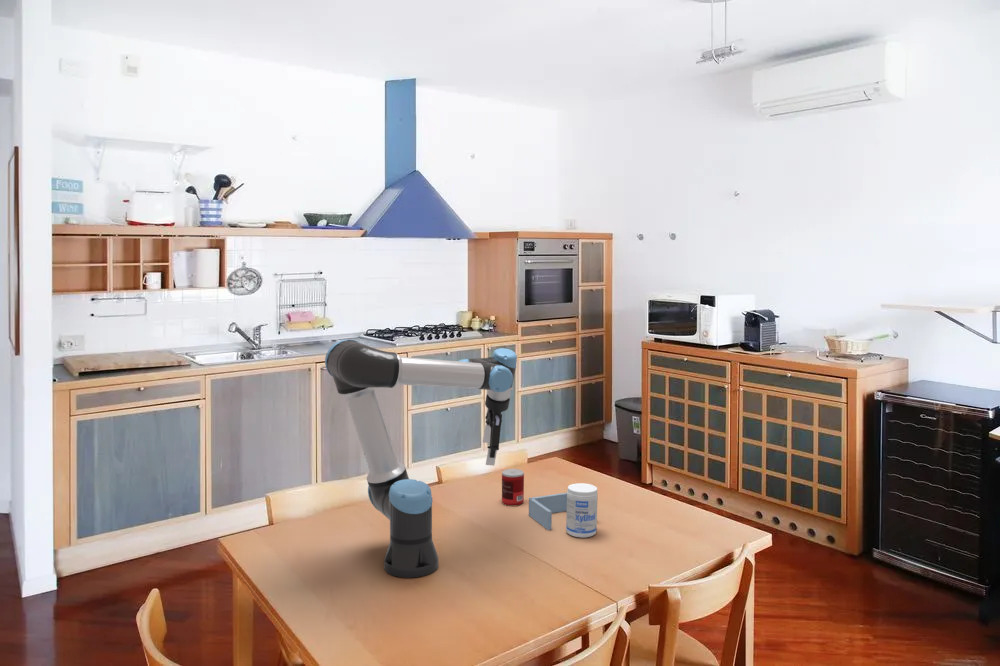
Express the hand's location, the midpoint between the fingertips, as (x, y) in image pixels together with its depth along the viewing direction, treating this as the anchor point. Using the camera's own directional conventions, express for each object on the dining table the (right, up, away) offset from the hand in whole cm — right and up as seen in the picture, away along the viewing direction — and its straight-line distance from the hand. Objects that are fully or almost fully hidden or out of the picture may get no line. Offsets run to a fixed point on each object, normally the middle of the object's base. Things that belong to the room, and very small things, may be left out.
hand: (488, 453), depth 244 cm
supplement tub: (+29, -24, -10) cm, 39 cm away
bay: (+24, -22, +2) cm, 33 cm away
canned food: (+8, -20, +18) cm, 28 cm away
